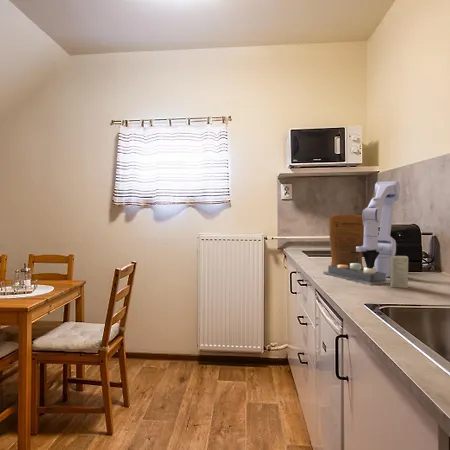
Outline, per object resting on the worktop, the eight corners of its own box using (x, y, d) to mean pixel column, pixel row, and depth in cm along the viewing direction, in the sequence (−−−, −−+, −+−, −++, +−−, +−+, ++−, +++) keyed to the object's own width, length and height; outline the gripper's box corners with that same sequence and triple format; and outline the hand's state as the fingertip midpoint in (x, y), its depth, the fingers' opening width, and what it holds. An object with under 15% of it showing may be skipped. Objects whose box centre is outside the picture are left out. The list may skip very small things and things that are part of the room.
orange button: (342, 271, 174) (342, 264, 173) (350, 273, 169) (350, 265, 169) (334, 272, 172) (334, 264, 171) (342, 273, 167) (342, 266, 167)
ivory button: (369, 274, 159) (369, 266, 159) (378, 276, 155) (378, 268, 155) (361, 275, 157) (361, 267, 157) (369, 277, 153) (370, 269, 153)
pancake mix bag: (365, 269, 190) (366, 214, 189) (327, 266, 197) (328, 214, 196) (365, 267, 196) (367, 214, 195) (329, 264, 204) (330, 214, 202)
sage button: (355, 270, 166) (355, 262, 166) (363, 271, 162) (363, 264, 162) (347, 270, 164) (347, 263, 164) (355, 272, 160) (355, 264, 160)
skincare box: (406, 286, 147) (407, 256, 147) (408, 288, 143) (409, 257, 143) (389, 284, 149) (390, 255, 149) (390, 287, 145) (391, 256, 145)
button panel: (342, 272, 178) (342, 264, 178) (391, 283, 153) (391, 273, 153) (323, 273, 173) (323, 265, 173) (370, 285, 148) (370, 275, 148)
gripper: (375, 235, 162) (374, 265, 163) (350, 235, 156) (349, 267, 156) (388, 236, 156) (387, 268, 156) (363, 237, 149) (362, 270, 150)
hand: (369, 268), depth 156 cm, fingers closed, pressing on ivory button
